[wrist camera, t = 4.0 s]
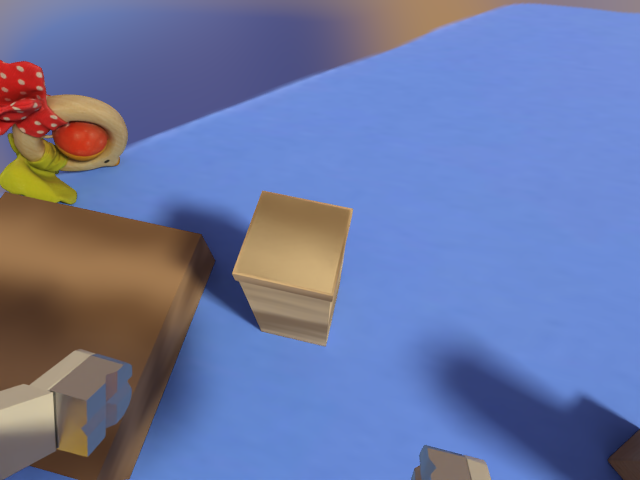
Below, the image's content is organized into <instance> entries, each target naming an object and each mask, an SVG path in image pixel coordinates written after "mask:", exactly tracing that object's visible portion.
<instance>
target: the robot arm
mask: <svg viewBox="0 0 640 480" xmlns="http://www.w3.org/2000/svg"><path fill="white" fill-rule="evenodd" d="M131 376H132V365H130V364H129V363H126V362H123V361H120V360H117V359H113V358H110V357H107V356H103V355H100V354H95V353H92V352H89V351H86V350H83V349H79V350H75V351H73V352H72V353H71V354H69V355H68V356H67V357H65V358H64V359H63V360H61V361H60V362H59V363H57V364H56V365H55V366H54V367H52V368H51V369H50V370H48V371H47V372H46V373H44V374H43V375H42V376H40V377H39V378H38V379H36V380H35V381H34V382H33V383H31V384H30V385H26V384H22V385H18V386H15V387H12V388H9V389H5V390H2V391H0V480H3V479H5V478H7V477H9V476H11V475H12V474H14V473H16V472H18V471H20V470H22V469H23V468H25V467H27V466H29V465H31V464H33V463H35V462H36V461H38V460H40V459H42V458H44V457H46V456H47V455H49V454H51V453H53V452H55V451H56V449H59V450H62V451H66V452H70V453H74V454H77V455H81V456H85V457H88V456H89V455H90V454H91V453H92V452H93V450H94V449H95V448H96V447H97V446H98V445H99V444H100V442H101V441H102V440H103V439H104V438H105V435H106V428H108V427H110V426H112V425H115V424H117V423H118V421H119V420H120V419H121V418H122V417H123V415H124V414H125V412H126V410H127V408H128V406H129V404H130V400H131V395H132V388H131V387H130V385H129V383H128V382H127V381H128V380H129V378H130V377H131ZM419 459H420V466H418V467H416V468H415V469H414V472H413V475H412V478H411V480H491V478H490V474H489V471H488V467H487V464H486V463H485V461H484V460H481V459H478V458H474V457H470V456H466V455H462V454H458V453H454V452H450V451H447V450H443V449H439V448H435V447H431V446H428V445H424V446H423V448H422V450H421V452H420V455H419Z"/></svg>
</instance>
